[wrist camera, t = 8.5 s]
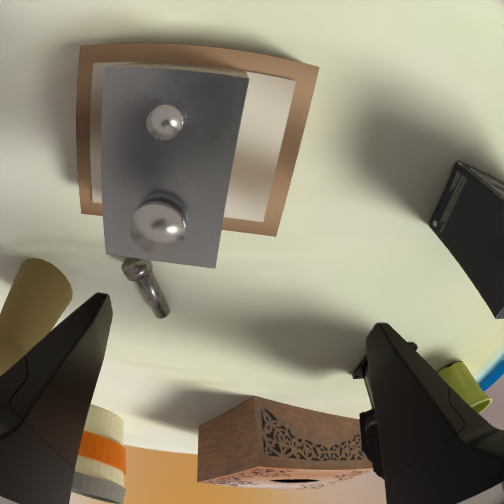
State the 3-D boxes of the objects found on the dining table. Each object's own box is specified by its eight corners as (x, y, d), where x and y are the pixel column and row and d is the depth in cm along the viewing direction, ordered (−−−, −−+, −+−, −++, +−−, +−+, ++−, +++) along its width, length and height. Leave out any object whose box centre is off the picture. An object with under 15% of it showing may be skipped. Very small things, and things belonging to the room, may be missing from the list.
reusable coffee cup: (146, 422, 42) (138, 506, 30) (116, 434, 47) (107, 502, 35) (75, 391, 36) (55, 481, 24) (57, 407, 41) (41, 479, 29)
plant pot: (449, 353, 35) (471, 403, 28) (481, 353, 37) (501, 396, 30) (410, 389, 40) (426, 435, 33) (445, 386, 42) (461, 427, 35)
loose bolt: (175, 304, 26) (172, 324, 24) (152, 307, 26) (148, 326, 24) (151, 251, 22) (145, 270, 21) (125, 255, 22) (118, 274, 21)
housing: (245, 72, 13) (250, 79, 8) (219, 216, 17) (214, 279, 13) (141, 61, 12) (96, 68, 8) (132, 205, 16) (101, 263, 12)
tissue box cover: (198, 425, 43) (197, 482, 35) (254, 394, 37) (259, 466, 28) (311, 446, 53) (317, 488, 45) (368, 419, 47) (379, 467, 39)
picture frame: (271, 211, 21) (276, 239, 18) (98, 191, 19) (80, 215, 17) (306, 64, 15) (320, 67, 12) (102, 45, 13) (78, 46, 11)
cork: (10, 268, 23) (-43, 357, 14) (46, 250, 22) (-15, 354, 13) (45, 311, 26) (8, 401, 17) (84, 300, 25) (45, 404, 16)
